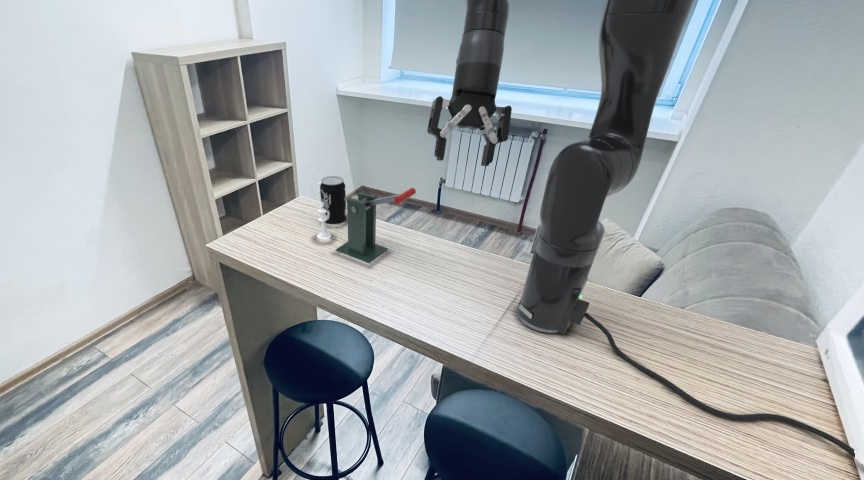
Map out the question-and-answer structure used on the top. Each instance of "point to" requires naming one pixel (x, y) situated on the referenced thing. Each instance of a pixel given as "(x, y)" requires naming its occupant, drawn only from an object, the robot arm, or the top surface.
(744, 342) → the top surface
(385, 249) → the bracket
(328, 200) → the beverage can
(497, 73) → the robot arm
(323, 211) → the chess piece
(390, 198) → the lever
